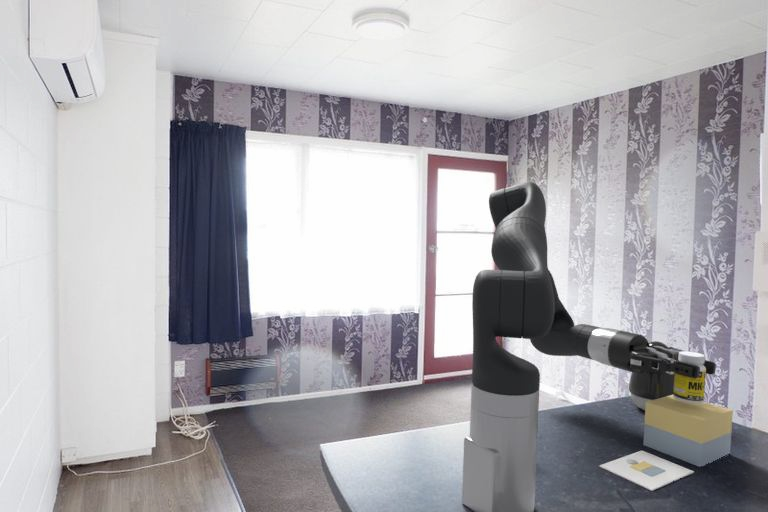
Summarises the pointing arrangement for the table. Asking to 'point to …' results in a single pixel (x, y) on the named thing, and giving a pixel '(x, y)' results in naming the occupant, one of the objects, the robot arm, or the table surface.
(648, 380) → the pump dispenser
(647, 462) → the page
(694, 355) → the supplement bottle
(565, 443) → the table surface
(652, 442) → the yellow and grey block
